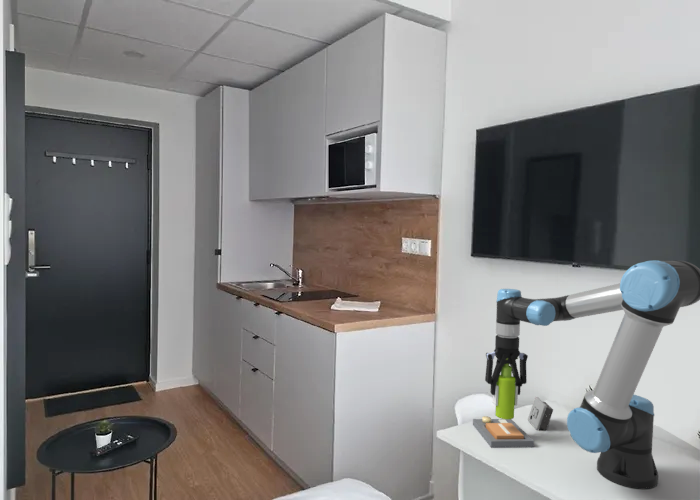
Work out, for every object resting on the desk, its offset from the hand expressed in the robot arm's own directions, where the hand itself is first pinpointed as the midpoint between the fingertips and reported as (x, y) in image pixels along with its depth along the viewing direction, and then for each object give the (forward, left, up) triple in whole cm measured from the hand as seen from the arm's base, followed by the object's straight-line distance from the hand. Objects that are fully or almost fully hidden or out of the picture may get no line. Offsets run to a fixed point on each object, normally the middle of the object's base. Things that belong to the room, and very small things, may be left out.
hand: (504, 404), depth 159 cm
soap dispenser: (0, -1, -4) cm, 4 cm away
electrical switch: (+10, -17, -12) cm, 23 cm away
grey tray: (+2, 0, -11) cm, 12 cm away
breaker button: (0, 0, -11) cm, 11 cm away
